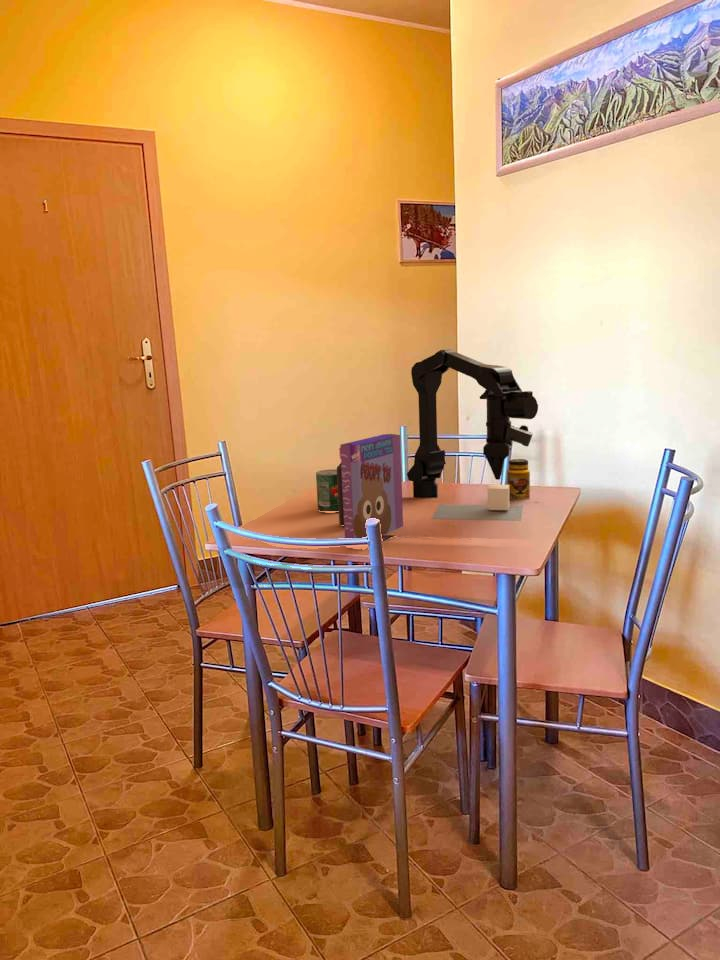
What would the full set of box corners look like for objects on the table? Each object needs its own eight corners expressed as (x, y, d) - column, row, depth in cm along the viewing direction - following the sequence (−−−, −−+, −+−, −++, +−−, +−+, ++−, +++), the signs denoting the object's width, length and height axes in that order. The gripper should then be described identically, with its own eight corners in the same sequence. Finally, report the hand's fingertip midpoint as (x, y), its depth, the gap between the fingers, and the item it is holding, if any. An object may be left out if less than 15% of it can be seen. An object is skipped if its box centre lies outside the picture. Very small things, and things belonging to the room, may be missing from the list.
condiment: (517, 506, 194) (517, 463, 192) (496, 501, 201) (496, 459, 199) (537, 502, 198) (537, 460, 195) (515, 497, 205) (515, 456, 202)
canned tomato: (320, 507, 203) (318, 469, 201) (347, 506, 202) (345, 468, 200) (315, 514, 195) (313, 474, 193) (344, 513, 194) (342, 474, 192)
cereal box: (362, 550, 159) (357, 444, 154) (345, 548, 162) (340, 443, 157) (403, 532, 173) (400, 434, 168) (386, 529, 176) (383, 433, 171)
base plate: (431, 524, 179) (431, 518, 178) (440, 509, 194) (440, 504, 194) (520, 526, 173) (520, 520, 173) (522, 511, 188) (522, 505, 188)
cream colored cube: (487, 509, 183) (487, 488, 182) (489, 505, 188) (489, 484, 187) (508, 510, 182) (508, 488, 181) (509, 505, 187) (509, 484, 185)
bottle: (369, 521, 184) (365, 445, 180) (361, 528, 178) (358, 449, 174) (344, 521, 186) (340, 445, 182) (335, 527, 180) (331, 449, 176)
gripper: (530, 421, 169) (529, 485, 172) (531, 412, 187) (531, 471, 190) (482, 421, 172) (483, 484, 175) (488, 413, 190) (489, 471, 193)
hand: (498, 477), depth 183 cm, fingers open, 5 cm apart
